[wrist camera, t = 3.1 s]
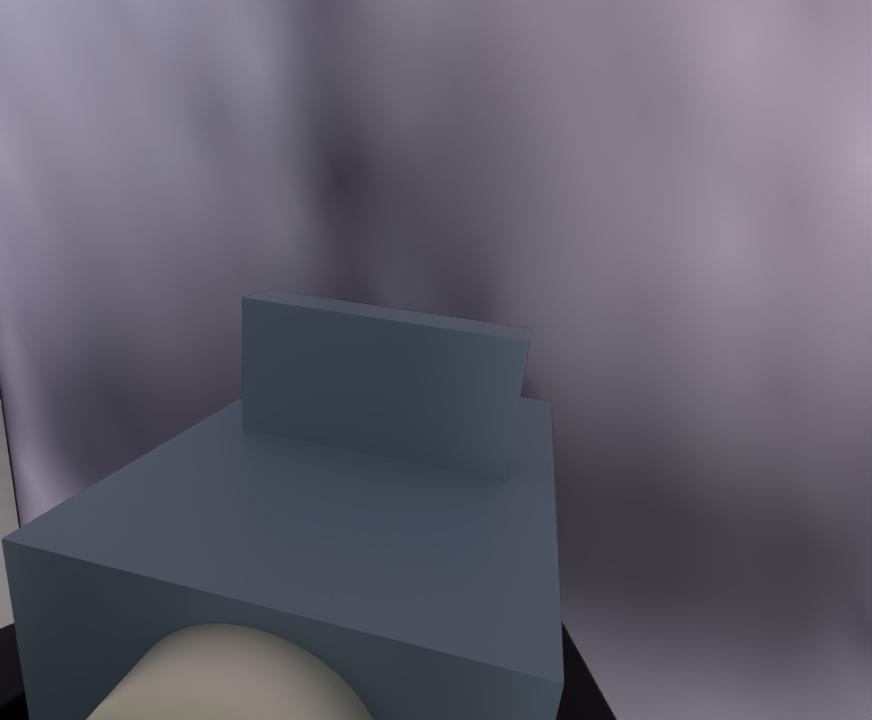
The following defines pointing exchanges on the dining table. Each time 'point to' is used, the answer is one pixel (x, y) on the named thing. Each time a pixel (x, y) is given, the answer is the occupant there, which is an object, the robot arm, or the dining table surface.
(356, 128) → the dining table surface
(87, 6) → the dining table surface
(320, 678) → the block
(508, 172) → the dining table surface
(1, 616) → the chassis plate
